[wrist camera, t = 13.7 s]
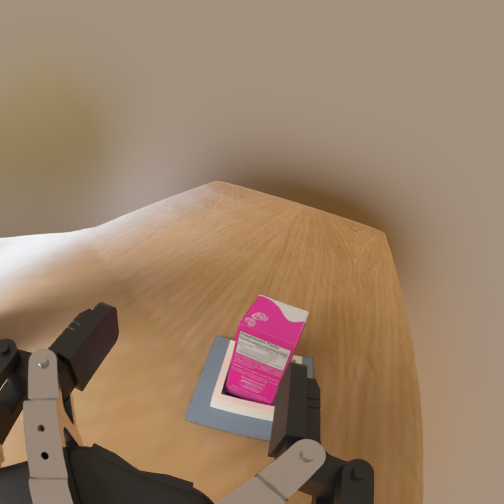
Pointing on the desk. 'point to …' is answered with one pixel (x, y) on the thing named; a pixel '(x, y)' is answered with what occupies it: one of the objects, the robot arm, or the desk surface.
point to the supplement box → (264, 349)
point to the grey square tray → (231, 397)
